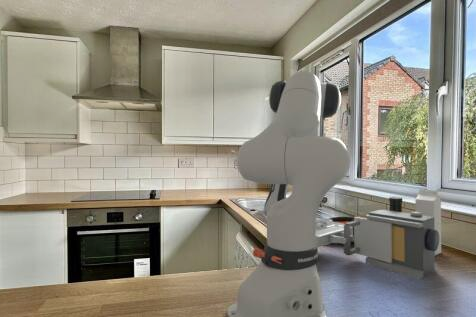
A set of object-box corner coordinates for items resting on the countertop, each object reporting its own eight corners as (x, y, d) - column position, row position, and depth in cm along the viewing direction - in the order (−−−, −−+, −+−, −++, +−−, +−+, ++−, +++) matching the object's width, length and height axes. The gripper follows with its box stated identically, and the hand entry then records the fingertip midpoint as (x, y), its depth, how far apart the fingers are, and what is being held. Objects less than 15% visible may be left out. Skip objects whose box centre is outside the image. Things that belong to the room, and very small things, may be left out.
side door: (378, 268, 85) (377, 227, 85) (341, 257, 95) (341, 220, 95) (392, 262, 90) (392, 222, 90) (356, 252, 100) (355, 216, 100)
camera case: (426, 281, 81) (426, 219, 81) (365, 263, 95) (365, 210, 95) (440, 272, 88) (440, 214, 87) (381, 256, 102) (381, 206, 101)
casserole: (355, 232, 134) (354, 213, 134) (390, 243, 117) (389, 221, 117) (308, 238, 125) (308, 218, 125) (339, 251, 107) (338, 228, 107)
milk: (422, 248, 110) (422, 188, 110) (441, 252, 105) (441, 190, 105) (415, 251, 106) (414, 190, 106) (434, 256, 101) (434, 191, 101)
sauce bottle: (388, 250, 108) (388, 195, 108) (408, 253, 104) (407, 196, 104) (384, 254, 103) (383, 197, 103) (404, 258, 99) (404, 199, 99)
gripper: (293, 226, 98) (329, 235, 87) (331, 218, 110) (366, 225, 99) (294, 245, 98) (329, 257, 87) (331, 235, 111) (367, 244, 99)
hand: (349, 240), depth 93 cm, fingers closed on side door, 2 cm apart
